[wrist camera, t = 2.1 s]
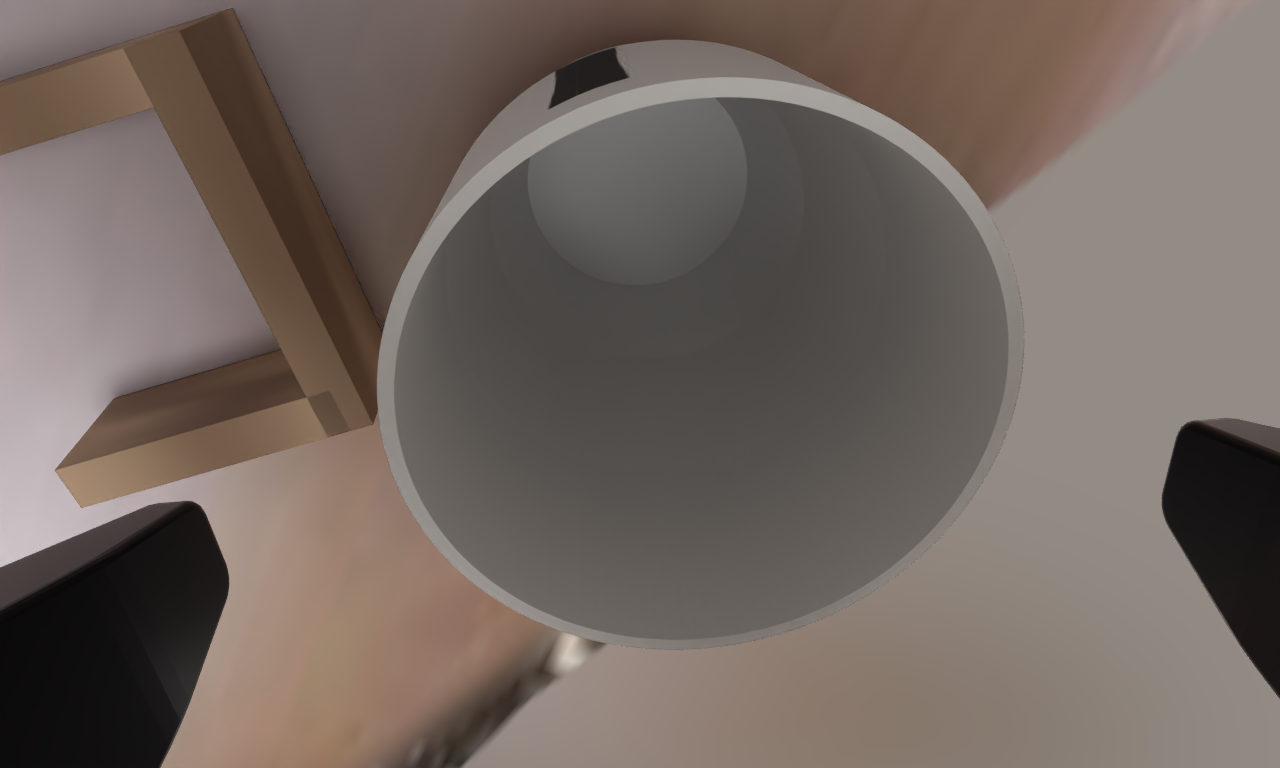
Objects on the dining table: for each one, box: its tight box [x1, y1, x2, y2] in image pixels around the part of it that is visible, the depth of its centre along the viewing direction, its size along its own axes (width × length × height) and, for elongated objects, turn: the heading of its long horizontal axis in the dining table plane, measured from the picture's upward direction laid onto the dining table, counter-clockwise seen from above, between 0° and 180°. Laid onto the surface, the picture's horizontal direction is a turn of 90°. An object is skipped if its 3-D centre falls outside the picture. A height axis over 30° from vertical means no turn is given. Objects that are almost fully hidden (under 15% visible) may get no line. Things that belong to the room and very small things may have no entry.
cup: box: [377, 40, 1024, 650], centre depth 16 cm, size 8×8×10 cm
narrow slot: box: [0, 8, 382, 508], centre depth 19 cm, size 6×8×3 cm
